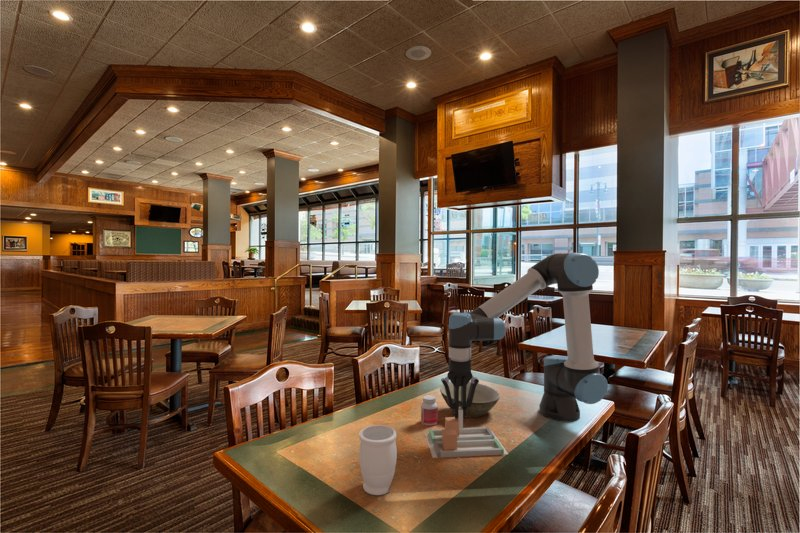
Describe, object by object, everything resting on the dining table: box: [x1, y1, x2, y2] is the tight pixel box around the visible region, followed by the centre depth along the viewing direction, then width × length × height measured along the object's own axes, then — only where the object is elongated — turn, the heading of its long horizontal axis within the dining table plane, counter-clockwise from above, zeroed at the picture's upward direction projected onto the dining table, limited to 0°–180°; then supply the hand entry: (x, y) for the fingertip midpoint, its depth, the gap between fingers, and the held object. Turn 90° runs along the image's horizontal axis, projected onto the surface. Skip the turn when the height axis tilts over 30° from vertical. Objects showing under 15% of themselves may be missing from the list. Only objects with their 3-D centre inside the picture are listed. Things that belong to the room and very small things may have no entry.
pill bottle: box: [420, 394, 439, 427], centre depth 143 cm, size 6×6×11 cm
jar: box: [358, 424, 398, 496], centre depth 105 cm, size 11×10×15 cm
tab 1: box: [444, 416, 459, 436], centre depth 131 cm, size 4×4×6 cm
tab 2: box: [441, 428, 457, 451], centre depth 122 cm, size 4×4×6 cm
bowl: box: [439, 380, 501, 418], centre depth 154 cm, size 24×24×10 cm
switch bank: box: [424, 426, 509, 459], centre depth 127 cm, size 24×16×3 cm, turn 95°
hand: (459, 427), depth 131 cm, fingers closed
